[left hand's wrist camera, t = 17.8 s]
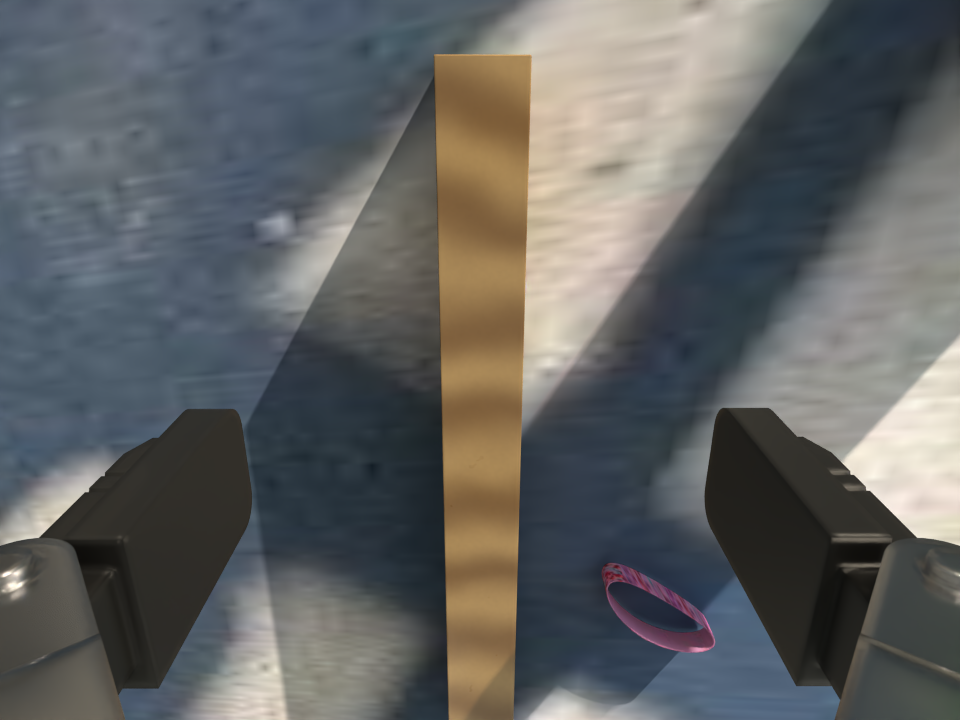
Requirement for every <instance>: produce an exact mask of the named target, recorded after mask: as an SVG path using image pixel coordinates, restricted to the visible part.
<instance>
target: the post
mask: <svg viewBox="0 0 960 720" xmlns="http://www.w3.org/2000/svg"><path fill="white" fill-rule="evenodd" d="M531 58H532V56H531V55H434V84H435V129H436V174H437V219H438V264H439V309H440V353H441V398H442V443H443V488H444V533H445V577H446V622H447V667H448V712H449V720H513V713H514V676H515V640H516V604H517V567H518V531H519V494H520V458H521V422H522V385H523V349H524V312H525V276H526V240H527V203H528V167H529V130H530V94H531Z"/></svg>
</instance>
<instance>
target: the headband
mask: <svg viewBox="0 0 960 720" xmlns="http://www.w3.org/2000/svg"><path fill="white" fill-rule="evenodd" d="M602 578H603V582H604V586H605V590H606V594H607V597H608V600H609V603H610V605H611V607H612V609H613V610H614V612H615V613H616V615H617V616H618V617H619V618H620V619H621V621H622V622H623V623H624V624H625V625H626V626H628V627H629V628H630V629H631V630H632V631H634V632H635V633H636V634H638V635H639V636H640V637H642V638H643V639H645V640H647V641H650V642H652V643H654V644H656V645H659V646H661V647H664V648H667V649H671V650H675V651H681V652H703V651H707V650H709V649H711V648H712V647H713V646H714V645H715V639H714V637H713V634H712V632H711V630H710V627H709V625H708V623H707V621H706V618H705V617H704V615H703V614H702V613H701V612H700V611H699V610H698V609H697V608H696V607H694V606H693V605H692V604H690V603H689V602H688V601H686V600H685V599H683V598H682V597H680V596H679V595H677V594H676V593H674V592H673V591H671V590H669V589H668V588H666V587H664V586H663V585H661V584H659V583H658V582H656V581H654V580H653V579H651V578H649V577H647V576H645V575H644V574H642V573H640V572H638V571H636V570H634V569H632V568H629V567H627V566H624V565H621V564H617V563H608V564H606V565H605V566H604V567H603V569H602ZM616 581H620V582H626V583H629V584H632V585H634V586H637V587H639V588H641V589H643V590H645V591H647V592H649V593H651V594H653V595H655V596H656V597H658V598H660V599H662V600H664V601H665V602H667V603H669V604H670V605H672V606H674V607H675V608H677V609H679V610H680V611H682V612H683V613H685V614H686V615H688V616H689V617H691V618H692V619H694V620H695V621H697V622H698V623H699V624H701V625H702V626H703V627H704V628H703V629H701V630H699V631H696V632H689V633H680V632H672V631H667V630H663V629H659V628H656V627H654V626H651V625H649V624H647V623H645V622H643V621H641V620H639V619H637V618H636V617H634V616H633V615H631V614H630V613H629V612H627V611H626V610H625V609H624V608H623V607H621V606H620V605H619V604H618V602H617V601H616V600H615V599H614V598H613V597H612V595H611V594H610V592H609V591H608V586H609V585H610V584H611V583H612V582H616Z"/></svg>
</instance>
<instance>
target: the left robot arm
mask: <svg viewBox="0 0 960 720" xmlns="http://www.w3.org/2000/svg"><path fill="white" fill-rule="evenodd" d="M251 507H252V491H251V483H250V477H249V470H248V463H247V456H246V450H245V443H244V436H243V430H242V424H241V419H240V417H239V414H238V413H237V411H236V410H234V409H187V410H185V411H184V412H183V413H182V414H181V415H180V416H179V417H178V418H177V419H176V420H175V421H174V422H173V423H172V424H171V425H170V426H169V428H168V429H167V430H166V431H165V432H164V433H163V434H162V435H161V436H160V437H159V438H152V439H150V440H148V441H146V442H145V443H143V444H141V445H139V446H137V447H136V448H134V449H132V450H130V451H128V452H127V453H125V454H123V455H122V456H121V457H120V458H119V459H118V460H117V461H116V462H115V463H114V464H113V465H112V466H111V467H110V468H109V469H108V470H107V471H106V472H105V476H101V477H100V478H99V479H98V480H97V481H96V482H95V483H94V484H93V485H92V486H91V487H90V488H89V492H85V493H84V494H83V495H82V496H81V497H80V498H79V499H78V500H77V501H76V502H75V503H74V504H73V505H72V506H71V507H70V508H69V509H68V510H67V511H66V512H65V513H64V514H63V515H62V516H61V517H60V518H59V519H58V520H57V521H56V522H55V523H54V524H53V525H52V526H51V527H50V528H49V529H48V530H46V531H45V532H44V533H43V534H42V535H41V536H40V537H39V538H34V539H26V540H21V541H16V542H12V543H8V544H5V545H2V546H0V720H125V717H124V714H123V710H122V707H121V703H120V700H119V696H118V695H119V693H120V692H121V690H122V688H159V687H160V685H161V683H162V681H163V679H164V677H165V676H166V674H167V672H168V670H169V668H170V667H171V665H172V663H173V661H174V659H175V657H176V656H177V654H178V652H179V650H180V648H181V646H182V645H183V643H184V641H185V639H186V637H187V635H188V634H189V632H190V630H191V628H192V626H193V625H194V623H195V621H196V619H197V617H198V615H199V614H200V612H201V610H202V608H203V606H204V604H205V603H206V601H207V599H208V597H209V595H210V594H211V592H212V590H213V588H214V586H215V584H216V583H217V581H218V579H219V577H220V575H221V573H222V572H223V570H224V568H225V566H226V564H227V563H228V561H229V559H230V557H231V555H232V553H233V552H234V550H235V548H236V546H237V544H238V542H239V541H240V539H241V537H242V535H243V533H244V532H245V530H246V528H247V525H248V522H249V519H250V514H251ZM705 509H706V515H707V519H708V522H709V525H710V527H711V529H712V531H713V533H714V535H715V537H716V539H717V541H718V542H719V544H720V546H721V548H722V550H723V552H724V553H725V555H726V557H727V559H728V561H729V563H730V565H731V566H732V568H733V570H734V572H735V574H736V576H737V577H738V579H739V581H740V583H741V585H742V587H743V589H744V590H745V592H746V594H747V596H748V598H749V600H750V601H751V603H752V605H753V607H754V609H755V611H756V613H757V614H758V616H759V618H760V620H761V622H762V624H763V625H764V627H765V629H766V631H767V633H768V635H769V637H770V638H771V640H772V642H773V644H774V646H775V648H776V649H777V651H778V653H779V655H780V657H781V659H782V661H783V662H784V664H785V666H786V668H787V670H788V672H789V673H790V675H791V677H792V679H793V681H794V683H795V685H796V686H832V687H833V689H834V690H835V692H836V694H837V695H838V697H839V699H840V703H839V707H838V710H837V714H836V717H835V720H960V546H958V545H955V544H952V543H948V542H944V541H939V540H934V539H926V538H917V537H916V536H915V535H914V534H913V533H912V532H911V531H910V530H909V529H908V528H907V527H906V526H905V525H904V524H903V523H902V522H901V521H900V520H899V519H898V518H897V517H896V516H895V515H894V514H893V513H892V512H891V511H890V510H889V509H888V508H887V507H886V506H885V505H884V504H883V503H882V502H881V501H880V500H879V499H878V498H877V497H876V496H875V495H874V494H873V493H872V492H870V491H866V487H865V486H864V485H863V484H862V483H861V482H860V481H859V480H858V479H857V478H856V477H855V476H854V475H850V471H849V470H848V469H847V468H846V467H845V466H844V465H843V464H842V463H841V462H840V461H839V460H838V459H837V458H836V457H835V456H834V455H833V454H832V453H831V452H829V451H828V450H826V449H824V448H822V447H820V446H819V445H817V444H815V443H813V442H811V441H810V440H808V439H806V438H804V437H797V436H796V435H795V434H794V433H793V432H792V431H791V430H790V429H789V428H788V427H787V426H786V425H785V424H784V423H783V421H782V420H781V419H780V418H779V417H778V416H777V415H776V414H775V413H774V412H773V411H772V410H771V409H769V408H722V409H721V410H720V411H719V412H718V414H717V416H716V420H715V425H714V431H713V438H712V445H711V452H710V459H709V465H708V472H707V479H706V486H705Z"/></svg>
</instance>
